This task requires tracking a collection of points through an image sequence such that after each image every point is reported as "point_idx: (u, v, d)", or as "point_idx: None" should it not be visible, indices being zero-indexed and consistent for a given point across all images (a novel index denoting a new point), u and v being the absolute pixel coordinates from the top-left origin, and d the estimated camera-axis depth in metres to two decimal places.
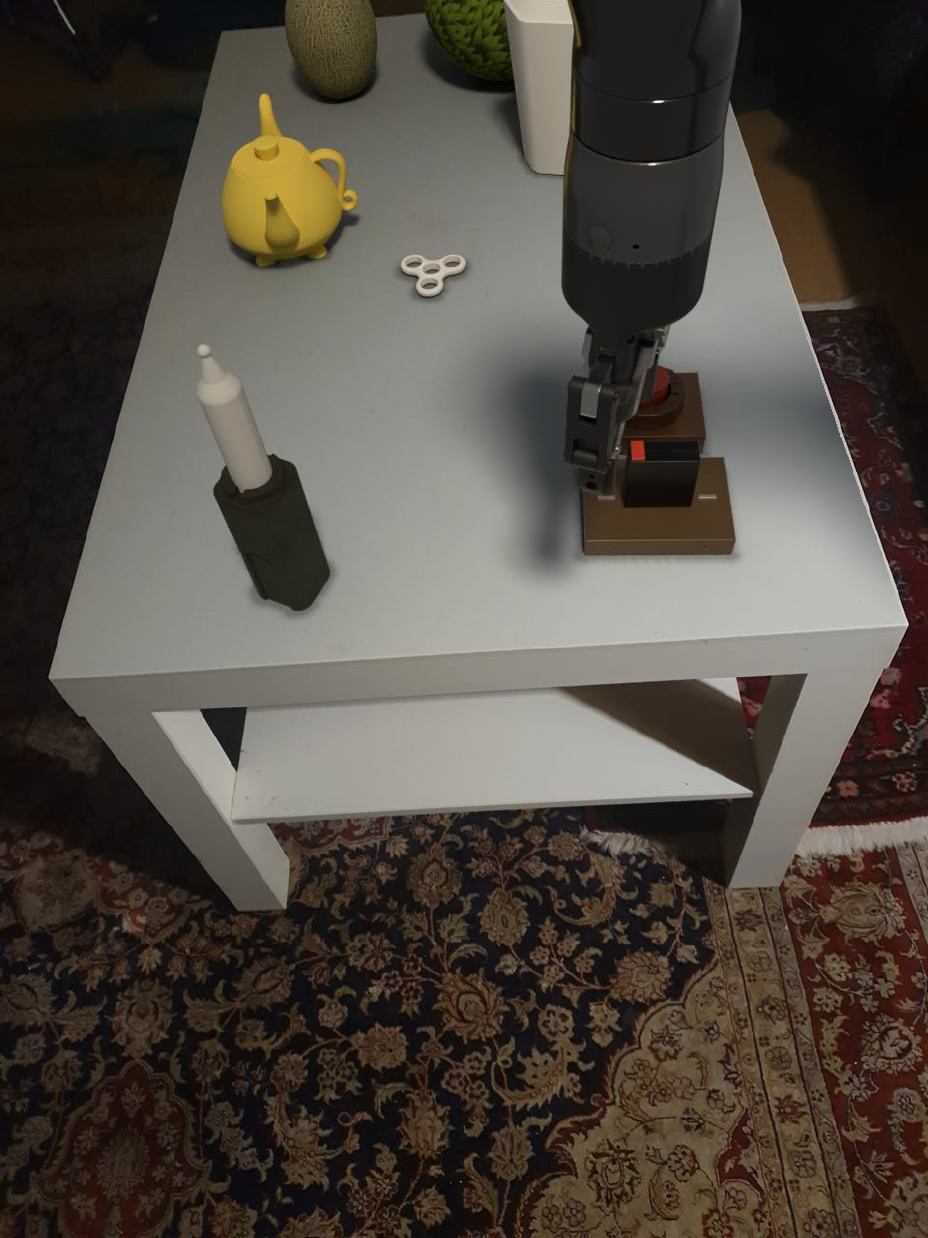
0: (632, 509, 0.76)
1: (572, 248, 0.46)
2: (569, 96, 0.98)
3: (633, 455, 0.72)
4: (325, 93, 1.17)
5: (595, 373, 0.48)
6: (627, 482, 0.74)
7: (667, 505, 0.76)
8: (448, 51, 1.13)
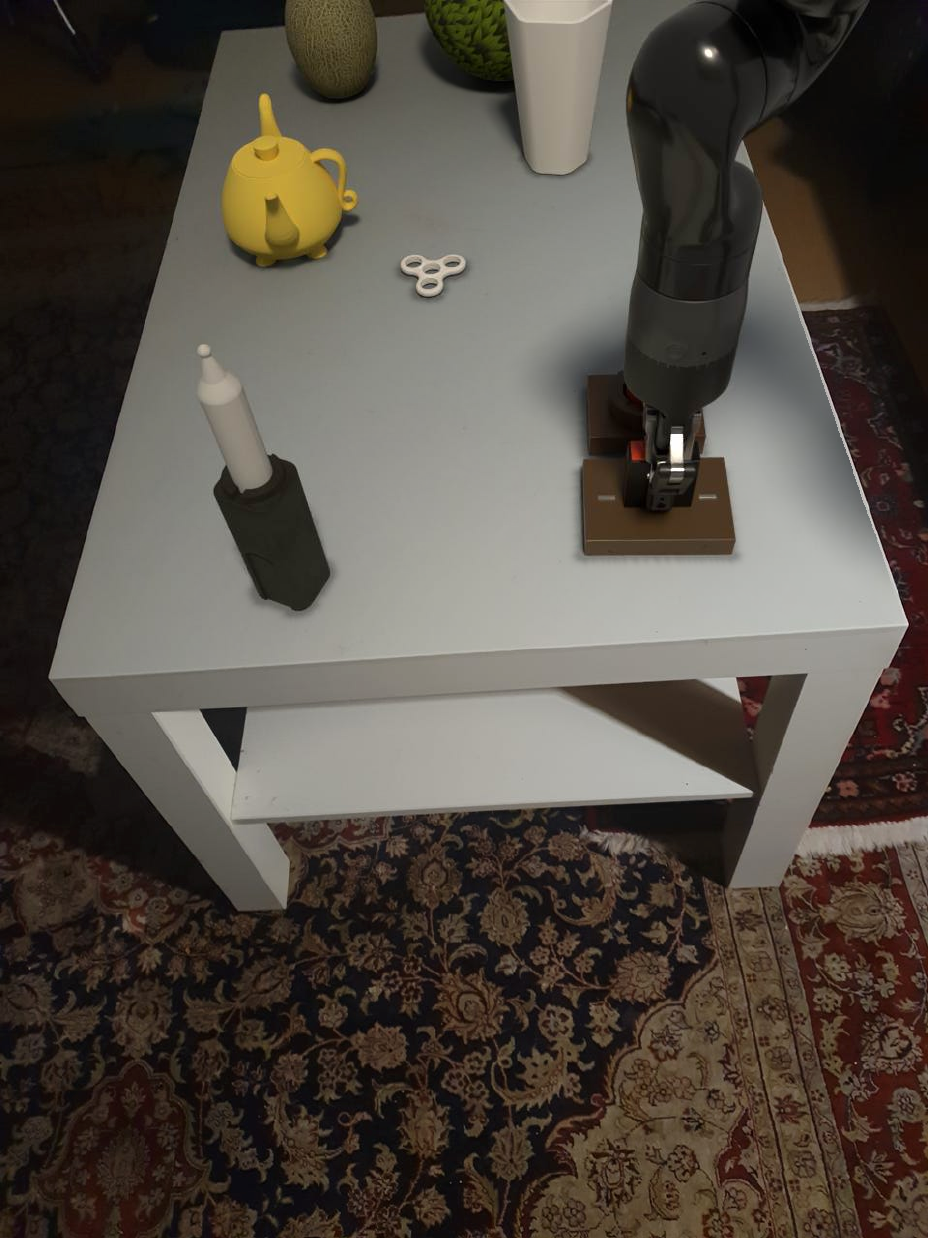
0: (632, 509, 0.76)
1: (648, 362, 0.61)
2: (569, 96, 0.98)
3: (633, 455, 0.72)
4: (325, 93, 1.17)
5: (674, 457, 0.65)
6: (627, 482, 0.74)
7: None
8: (448, 51, 1.13)
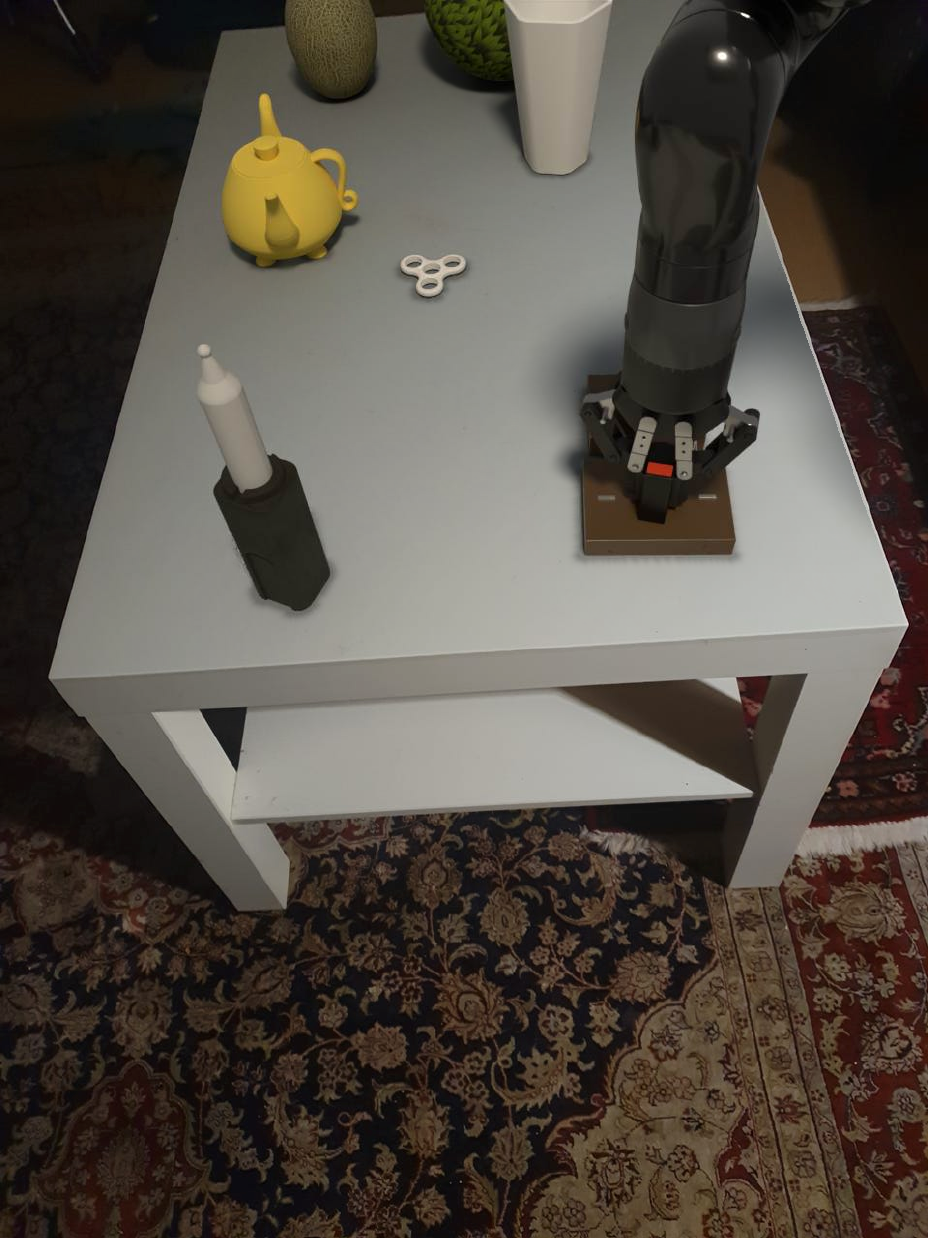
0: (632, 509, 0.76)
1: (718, 365, 0.60)
2: (569, 96, 0.98)
3: (666, 473, 0.71)
4: (325, 93, 1.17)
5: (743, 418, 0.66)
6: (667, 499, 0.73)
7: None
8: (448, 51, 1.13)
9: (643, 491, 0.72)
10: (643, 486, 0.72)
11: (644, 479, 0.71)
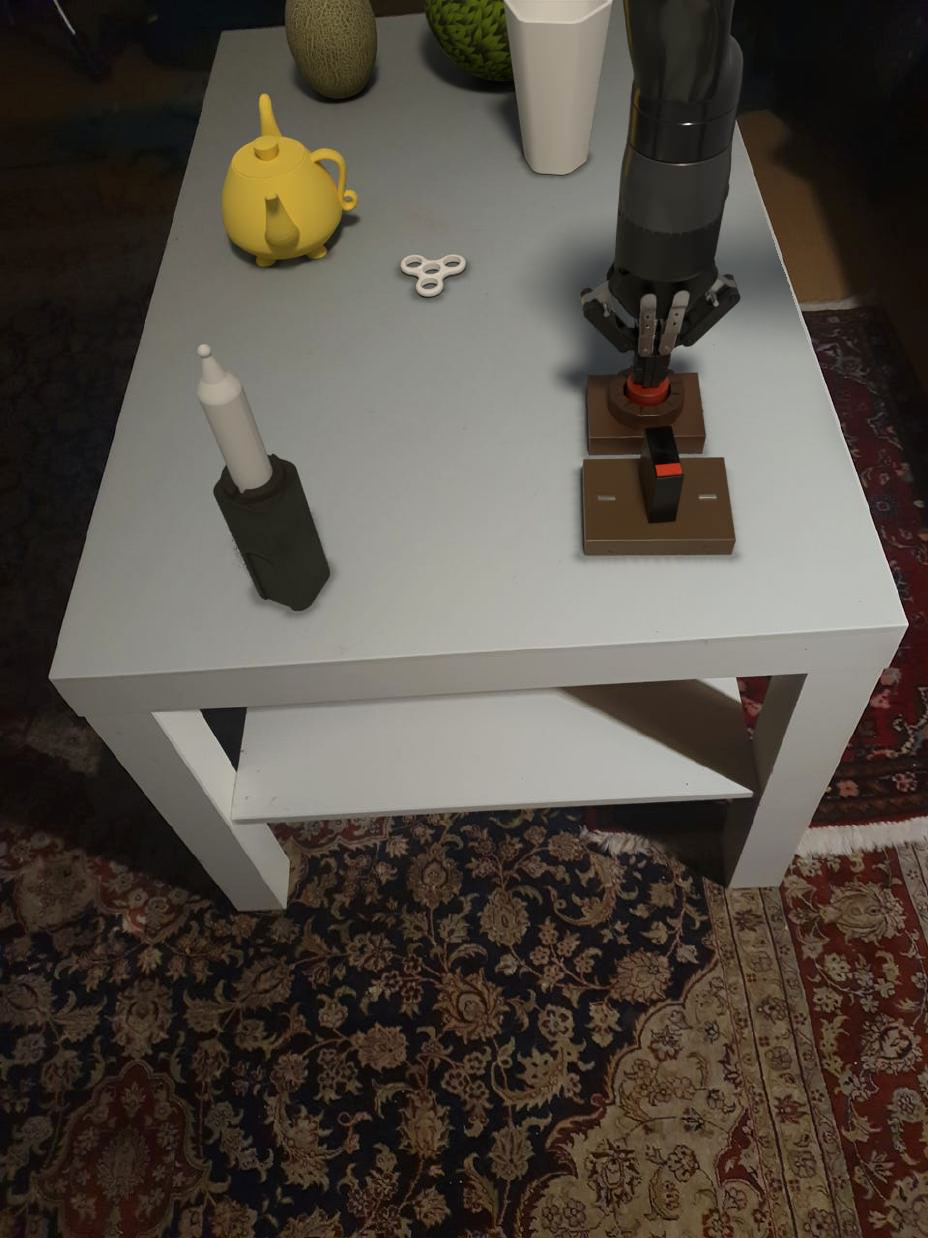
0: (632, 509, 0.76)
1: (716, 222, 0.65)
2: (569, 96, 0.98)
3: (677, 471, 0.71)
4: (325, 93, 1.17)
5: (726, 282, 0.72)
6: (679, 496, 0.73)
7: None
8: (448, 51, 1.13)
9: (655, 494, 0.72)
10: (655, 490, 0.72)
11: (656, 483, 0.71)
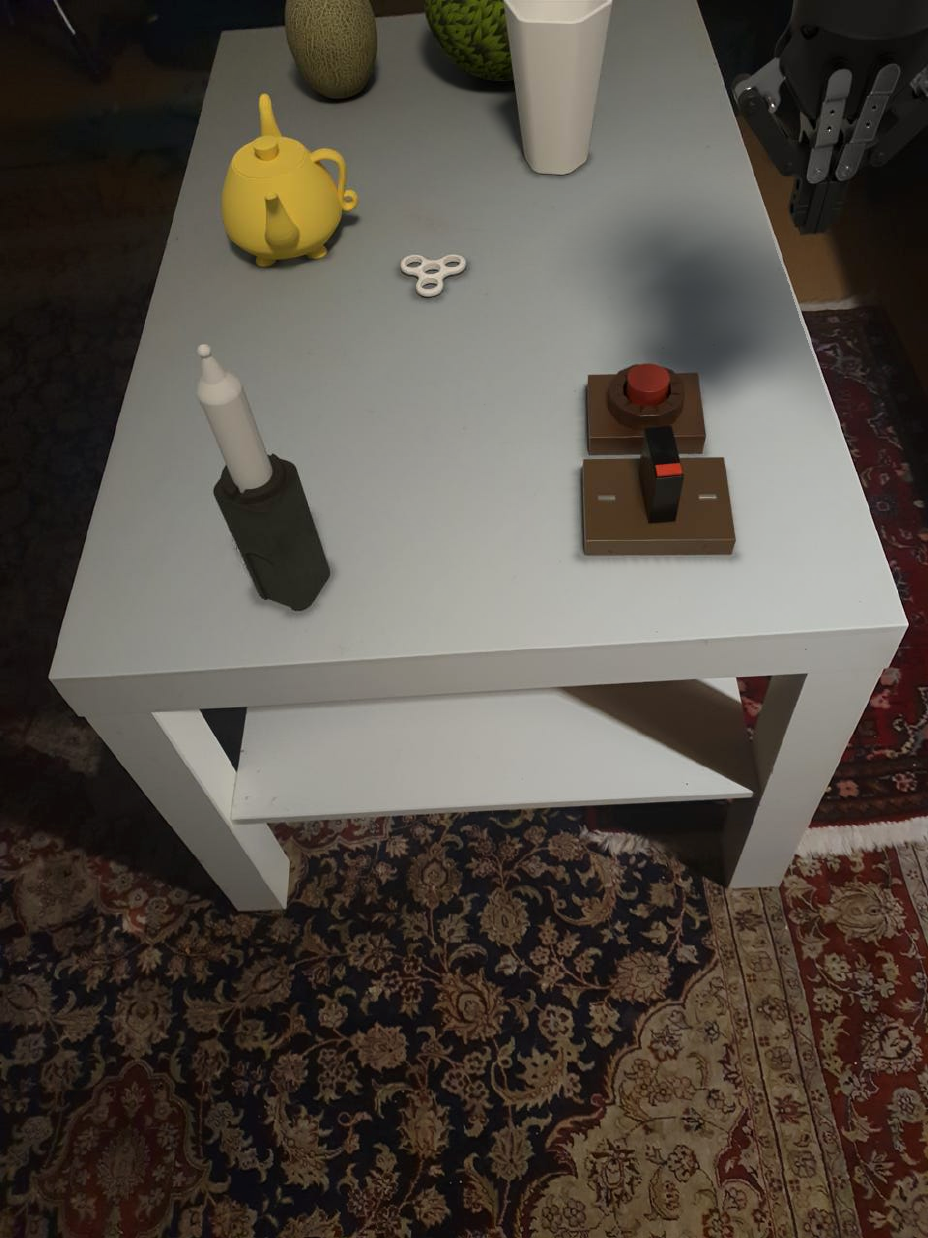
0: (632, 509, 0.76)
1: None
2: (569, 96, 0.98)
3: (677, 471, 0.71)
4: (325, 93, 1.17)
5: None
6: (679, 496, 0.73)
7: None
8: (448, 51, 1.13)
9: (655, 494, 0.72)
10: (655, 490, 0.72)
11: (656, 483, 0.71)
